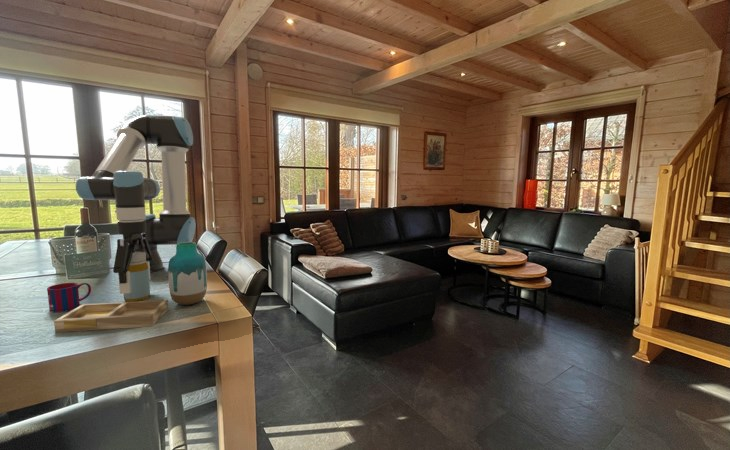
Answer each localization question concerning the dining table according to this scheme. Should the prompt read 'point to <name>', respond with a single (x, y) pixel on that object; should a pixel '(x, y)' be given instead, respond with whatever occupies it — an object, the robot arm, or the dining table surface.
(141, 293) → the bottle
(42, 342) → the dining table surface
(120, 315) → the caddy
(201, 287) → the vase
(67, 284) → the mug
